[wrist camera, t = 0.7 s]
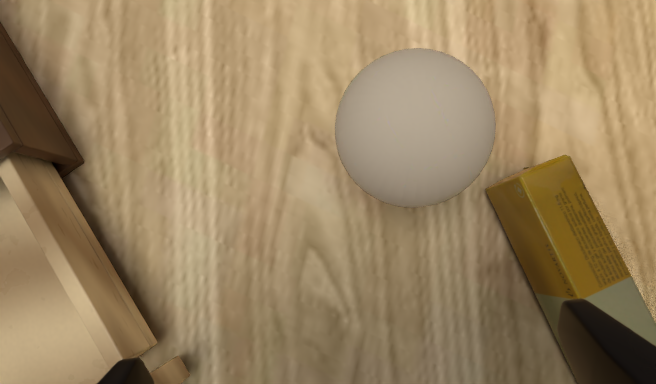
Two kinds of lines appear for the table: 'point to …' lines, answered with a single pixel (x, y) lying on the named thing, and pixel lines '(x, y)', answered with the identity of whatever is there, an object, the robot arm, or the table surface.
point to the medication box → (567, 245)
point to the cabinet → (30, 115)
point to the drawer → (60, 288)
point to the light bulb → (415, 127)
